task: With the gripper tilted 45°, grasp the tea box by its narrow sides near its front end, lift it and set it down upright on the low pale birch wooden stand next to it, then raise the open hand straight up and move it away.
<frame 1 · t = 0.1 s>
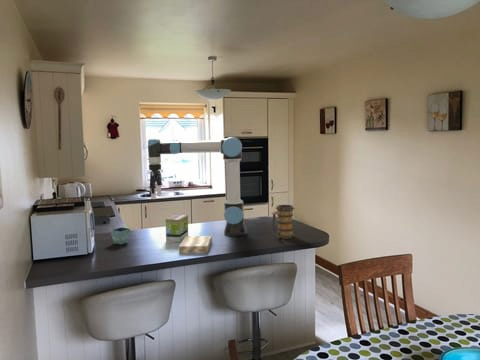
hand: (156, 197, 236), 28 cm above the countertop, tool pointing down, fingers open, 13 cm apart
mug: (282, 237, 240), on the countertop
tea box: (177, 239, 240), on the countertop
flower pot: (121, 243, 234), on the countertop
birch stand: (196, 247, 221), on the countertop
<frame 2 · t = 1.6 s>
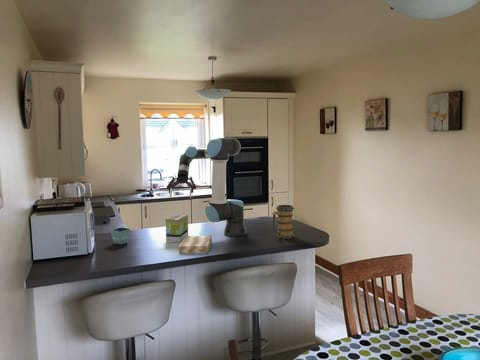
hand: (180, 196, 252), 25 cm above the countertop, tool tilted 45°, fingers open, 13 cm apart
nothing on the countertop moved.
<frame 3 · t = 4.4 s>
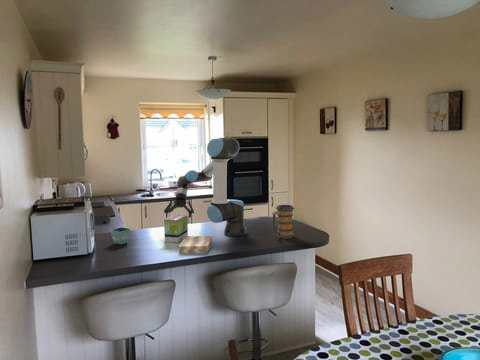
hand: (177, 221, 246), 10 cm above the countertop, tool tilted 45°, fingers open, 13 cm apart
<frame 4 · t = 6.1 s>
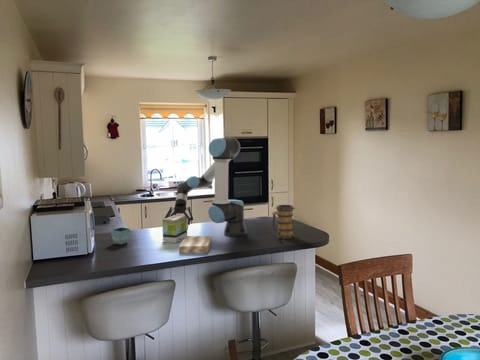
hand: (177, 229, 241), 6 cm above the countertop, tool tilted 45°, fingers closed on tea box, 11 cm apart
tea box: (175, 240, 239), on the countertop, touching gripper
everything else where it was.
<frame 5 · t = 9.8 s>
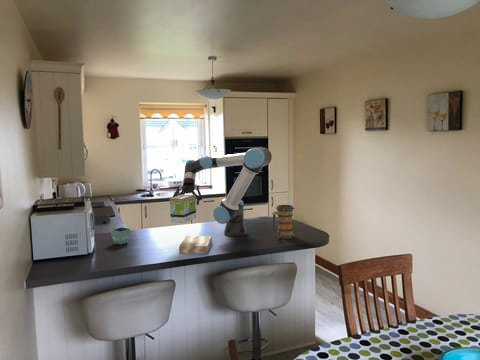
hand: (185, 209, 226), 22 cm above the countertop, tool tilted 45°, fingers closed on tea box, 11 cm apart
tea box: (183, 220, 224), point 15 cm above the countertop, touching gripper
everything else where it was.
when the fingers open (12 cm above the countertop, at t = 13.5 s): tea box drops 1 cm, resting on birch stand.
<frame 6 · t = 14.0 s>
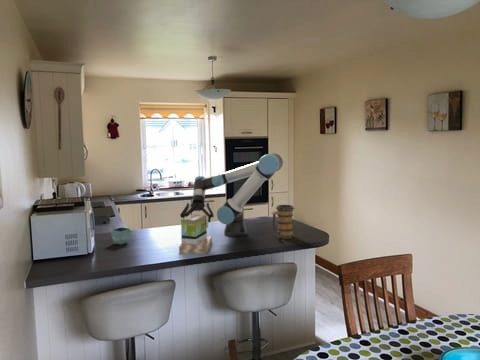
hand: (195, 226, 221), 12 cm above the countertop, tool tilted 45°, fingers open, 13 cm apart
tea box: (194, 241, 220), point 4 cm above the countertop, touching birch stand
everything else where it was.
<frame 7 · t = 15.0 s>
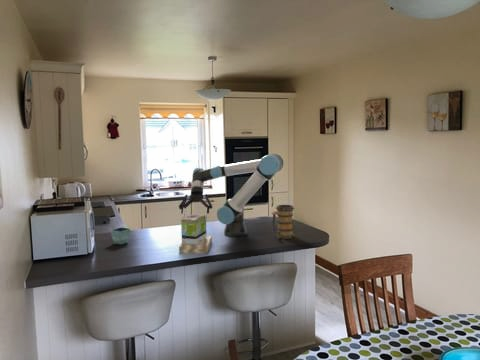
hand: (194, 217, 221), 18 cm above the countertop, tool tilted 45°, fingers open, 13 cm apart
nothing on the countertop moved.
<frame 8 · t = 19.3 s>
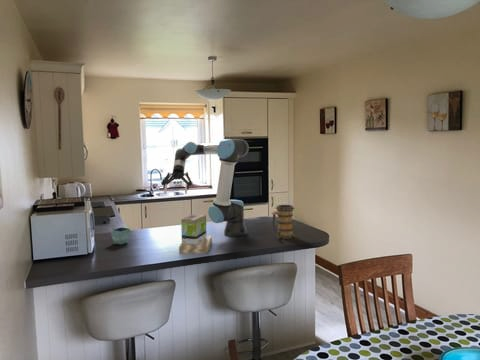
hand: (175, 193, 241), 30 cm above the countertop, tool tilted 45°, fingers open, 13 cm apart
nothing on the countertop moved.
at the end: tea box inside the target area on the birch stand (1.1 cm from its centre), point 3.8 cm above the birch stand's base; tea box tilted 0°; the gripper is holding nothing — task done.
